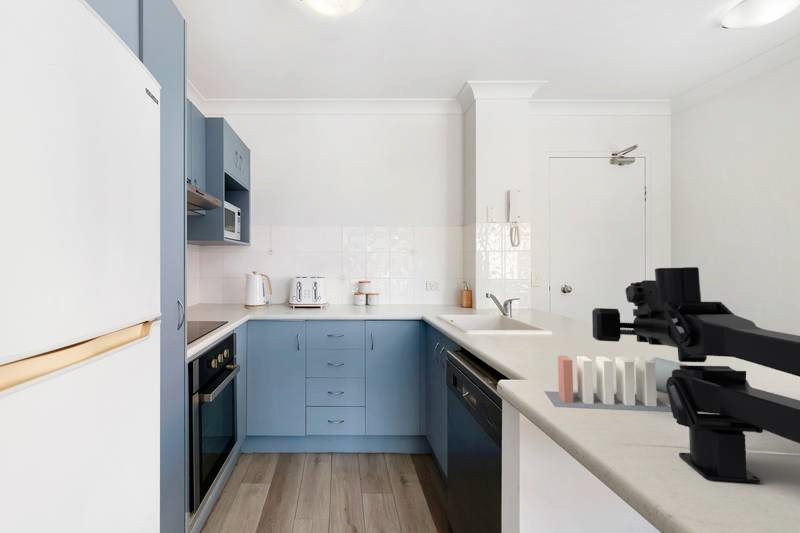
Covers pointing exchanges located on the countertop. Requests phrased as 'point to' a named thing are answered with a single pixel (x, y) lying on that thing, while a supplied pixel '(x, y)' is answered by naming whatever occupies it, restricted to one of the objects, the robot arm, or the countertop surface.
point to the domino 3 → (605, 380)
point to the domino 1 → (565, 379)
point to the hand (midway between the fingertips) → (625, 323)
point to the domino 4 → (625, 380)
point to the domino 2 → (585, 379)
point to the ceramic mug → (664, 372)
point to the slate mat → (599, 404)
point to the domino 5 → (646, 381)
